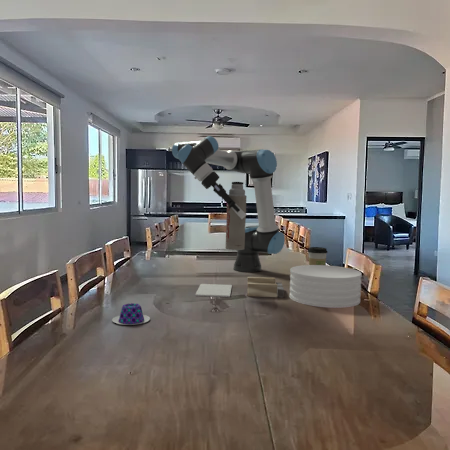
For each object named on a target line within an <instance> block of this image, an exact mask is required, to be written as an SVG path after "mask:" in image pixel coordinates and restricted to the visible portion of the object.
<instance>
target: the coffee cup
mask: <svg viewBox="0 0 450 450" xmlns="http://www.w3.org/2000/svg"><path fill="white" fill-rule="evenodd" d="M307 252H308V265H326V262H327V254H328V253H329V252H328V249H327V248H326V247H323V246H322V247H318V246H310V247H308V249H307Z"/></svg>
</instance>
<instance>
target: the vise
mask: <svg viewBox="0 0 450 450" xmlns="http://www.w3.org/2000/svg"><path fill="white" fill-rule="evenodd" d="M246 291H247V292H246V293H247V296H246V297H259V298H260V297H261V298H262V297H263V298H285V289H284V285H283V283H282V282H277V281H276V277H265V276H264V277H262V276H261V277H260V276H258V277H257V276H247V289H246Z"/></svg>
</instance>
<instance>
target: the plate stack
mask: <svg viewBox="0 0 450 450" xmlns="http://www.w3.org/2000/svg"><path fill="white" fill-rule="evenodd" d="M289 272H290V274H289V279H290V280H289V295H288V296H289V299H291V301H294V302H297V303H299V304H303V305H306V306H311V307H312V306H313V307H317V308H318V307H319V308H331V309H333V308H335V309H337V308H338V309H340V308H341V309H342V308H349V307H355V306H358V305H359V304H361V295H362V277H363V275H362V272H361V271H359V270H357V269H354V268H349V267H344V266H337V265H326V264H325V265H309V264H303V265H295V266H292V267H291V268H290V269H289Z"/></svg>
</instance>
